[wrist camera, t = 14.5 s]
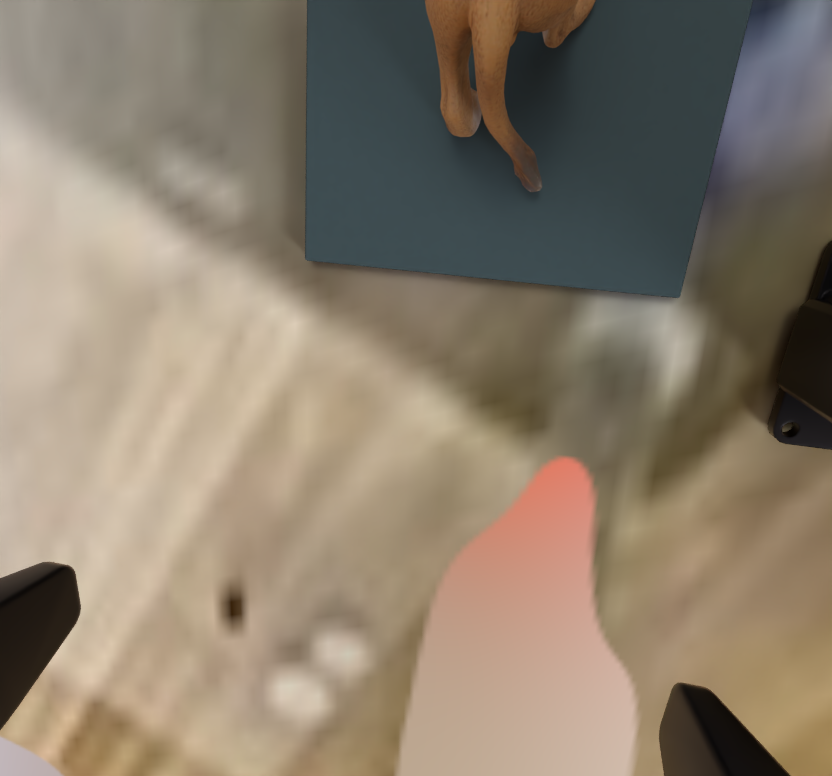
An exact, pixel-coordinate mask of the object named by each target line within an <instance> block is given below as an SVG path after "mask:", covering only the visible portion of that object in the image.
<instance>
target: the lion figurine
mask: <svg viewBox="0 0 832 776" xmlns="http://www.w3.org/2000/svg"><path fill="white" fill-rule="evenodd" d="M595 1H596V0H425V4H426V11H427V15H428V18H429V21H430V24H431V27H432V30H433V35H434V39H435V45H436V50H437V56H438V62H439V68H440V80H441V94H442V95H441V104H440V108H441V112H442V115H443V118H444V120H445V123H446V126H447V128H448V130H449V131H450V133H451V134H453V135H454V136H459V137H469V136H472V135H473V134H474V133H475V132H476V130H477V128H478V126H479V124H480V121H481V115H482V116H483V119H484V122H485V125H486V127H487V128H488V130H489V132H490V133H491V134H492V136H493V137H494V138H495V139H496V140H497V142H498V143H499V144H500V145H501V147H502V148H503V149H504V150H505V151H506V152H507V153H508V154H509V156H510V157H511V159H512V161H513V164H514V172H515V175H516V176H517V177H519V178H520V180H521V182H522V185H523V186H524V187H525V188H526V189H527V190H528V191H530V192H536V191H539V190H540V189H541V188H542V180H541V176H540V173H539V170H538V165H537V159H536V156H535V153H534V151H533V150H532V149H531V148H530V147H529V146H528V145H527V144H526V143H525V142H524V141H523V140H522V138H521V137H520V136H519V135H518V133H517V132H516V130H515V129H514V128H513V126H512V124H511V122H510V120H509V118H508V114H507V110H506V106H505V99H504V83H505V76H506V68H507V60H508V55H509V51H510V47H511V46H512V45H513V43H514V42H515V39H516V36H517V34H518V33H519V32H520V31H526V32H531V33H539V32H542V34H543V39H544V43H545V45H546V46H547V47H550V48H556V47H558V46H559V45H560V44H561V43H562V42H563V41H564V39H565V38H566V37H567V35H568V34H569V33H570V32H571V31H573V30H574V29H576V28H577V27H578V26H580V25H581V24H582V22H583V21H584V20H585V19H586V17H587V16H588V14H589V13H590V11H591V9H592V8H593V5H594V3H595ZM472 44H473V53H474V62H475V75H476V86H477V91H475V90H473V89H472V88H471V87H470V80H469V67H468V62H469V56H470V52H471V48H472Z"/></svg>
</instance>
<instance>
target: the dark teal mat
mask: <svg viewBox="0 0 832 776" xmlns="http://www.w3.org/2000/svg"><path fill="white" fill-rule="evenodd" d="M752 2H753V0H596V1H595V3H594V5H593V8H592V9H591V11H590V13H589V14H588V16H587V17H586V19H585V20H584V21H583V22H582V24H581V25H580V26H578V27H577V28H576V29H574V30H573V31H571V32H570V33H569V34H568V35H567V37H566V38H565V39H564V41H563V42H562V43H561V44H560V45H559V46H558V47H556V48H550V47H547V46H546V45H545V43H544V39H543V34H542V32H539V33H531V32H526V31H520V32H519V33H518V34H517V36H516V39H515V42H514V43H513V45H512V46H511V47H510V51H509V55H508V60H507V68H506V76H505V83H504V99H505V106H506V110H507V114H508V118H509V120H510V122H511V124H512V126H513V128H514V129H515V130H516V132H517V133H518V135H519V136H520V137H521V138H522V140H523V141H524V142H525V143H526V144H527V145H528V146H529V147H530V148H531V149H532V150H533V151H534V153H535V156H536V159H537V165H538V170H539V173H540V176H541V180H542V188H541V189H540V190H539V191H536V192H530V191H528V190H527V189H526V188H525V187H524V186H523V185H522V182H521V180H520V178H519V177H517V176H516V175H515V172H514V164H513V161H512V159H511V157H510V156H509V154H508V153H507V152H506V151H505V150H504V149H503V148H502V147H501V145H500V144H499V143H498V142H497V140H496V139H495V138H494V137H493V136H492V134H491V133H490V132H489V130H488V128H487V127H486V125H485V122H484V119H483V116H482V115H481V121H480V124H479V126H478V128H477V130H476V132H475V133H474V134H473V135H472V136H469V137H459V136H454V135H453V134H451V133H450V131H449V130H448V128H447V126H446V123H445V120H444V118H443V115H442V112H441V108H440V104H441V95H442V94H441V80H440V68H439V62H438V56H437V50H436V45H435V39H434V35H433V30H432V27H431V24H430V21H429V18H428V15H427V11H426V4H425V0H307V93H306V223H305V259H306V260H307V261H317V262H327V263H337V264H347V265H357V266H367V267H376V268H386V269H396V270H406V271H416V272H426V273H436V274H446V275H456V276H465V277H475V278H485V279H495V280H505V281H515V282H525V283H535V284H545V285H554V286H564V287H574V288H584V289H594V290H604V291H614V292H624V293H633V294H643V295H653V296H663V297H673V298H679V297H680V294H681V290H682V286H683V282H684V278H685V274H686V270H687V266H688V262H689V258H690V254H691V249H692V245H693V241H694V237H695V233H696V229H697V225H698V221H699V217H700V213H701V209H702V205H703V201H704V197H705V193H706V189H707V185H708V181H709V176H710V172H711V168H712V164H713V160H714V156H715V152H716V148H717V144H718V140H719V136H720V132H721V128H722V124H723V120H724V116H725V112H726V108H727V104H728V99H729V95H730V91H731V87H732V83H733V79H734V75H735V71H736V67H737V63H738V59H739V55H740V51H741V47H742V43H743V39H744V35H745V31H746V26H747V22H748V18H749V14H750V10H751V6H752ZM468 67H469V80H470V87H471V88H472V89H473V90H475V91H477V86H476V75H475V62H474V53H473V44H472V48H471V52H470V56H469V62H468Z"/></svg>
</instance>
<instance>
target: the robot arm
mask: <svg viewBox="0 0 832 776" xmlns="http://www.w3.org/2000/svg"><path fill="white" fill-rule="evenodd" d="M777 383H778V384H779V386H780V388H779V391H778V394H777V397H776V400H775V403H774V406H773V409H772V413H771V416H770V419H769V422H768V430H769V433H770V434H771V435H773V436H774V437H775V438H776V439H777V440H778V441H779V442H782V443H785V444H792V445H800V446H807V447H815V448H823V449H830V450H832V241H831V242H830V243H829V244H828V246H827V247H826V249H825V252H824V255H823V258H822V261H821V264H820V267H819V270H818V273H817V276H816V279H815V282H814V285H813V288H812V291H811V294H810V297H809V300H808V301H807V302H806V303H804V304H803V305H802V306H801V307H800V310H799V313H798V316H797V319H796V322H795V325H794V328H793V331H792V334H791V337H790V340H789V343H788V346H787V349H786V353H785V356H784V359H783V362H782V365H781V368H780V371H779V374H778V377H777ZM789 422H793V427H792V428H791V429H790V430H788V431H787V432H782V428H783V426H784V425H785V424H787V423H789ZM80 610H81V604H80V598H79V592H78V586H77V580H76V574H75V571H74V570H73V568H72V567H70V566H69V565H64V564H59V563H54V562H42V563H39V564H37V565H34V566H31V567H29V568H26V569H24V570H21V571H18V572H16V573H13V574H10V575H8V576H5V577H3V578H0V730H1V729H2V727H3V726H4V725H5V724H6V722H7V721H8V720H9V718H10V717H11V716H12V714H13V713H14V711H15V710H16V709H17V707H18V706H19V705H20V703H21V702H22V700H23V699H24V697H25V696H26V695H27V693H28V692H29V690H30V689H31V687H32V686H33V685H34V683H35V682H36V680H37V679H38V677H39V676H40V674H41V673H42V672H43V670H44V669H45V667H46V666H47V664H48V663H49V662H50V660H51V659H52V657H53V656H54V654H55V653H56V652H57V650H58V649H59V647H60V646H61V644H62V643H63V641H64V640H65V639H66V637H67V636H68V634H69V633H70V631H71V630H72V629H73V627H74V626H75V624H76V622H77V620H78V618H79V615H80ZM659 742H660V750H661V756H662V763H663V770H664V776H790V775H789V773H788V772H787V771H786V770H785V769H784V768H783V767H782V766H781V765H780V764H779V763H778V762H777V761H776V759H775V758H774V757H773V756H772V755H771V754H770V753H769V752H768V751H767V750H766V749H765V748H764V747H763V745H762V744H761V743H760V742H759V741H758V740H757V739H756V738H755V737H754V736H753V735H752V734H751V733H750V731H749V730H748V729H747V728H746V727H745V726H744V725H743V724H742V723H741V722H740V721H739V720H738V719H737V717H736V716H735V715H734V714H733V713H732V712H731V711H730V710H729V709H728V708H727V707H726V706H725V705H724V703H723V702H722V701H721V700H720V699H719V698H718V697H717V696H716V695H715V694H714V693H713V692H712V691H711V690H709V689H708V688H705V687H701V686H696V685H691V684H686V683H677V684H675V685H674V687H673V689H672V691H671V694H670V697H669V700H668V703H667V706H666V709H665V712H664V715H663V718H662V721H661V725H660V731H659Z"/></svg>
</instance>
